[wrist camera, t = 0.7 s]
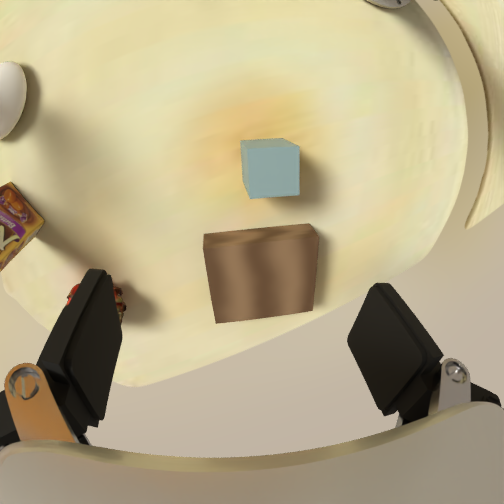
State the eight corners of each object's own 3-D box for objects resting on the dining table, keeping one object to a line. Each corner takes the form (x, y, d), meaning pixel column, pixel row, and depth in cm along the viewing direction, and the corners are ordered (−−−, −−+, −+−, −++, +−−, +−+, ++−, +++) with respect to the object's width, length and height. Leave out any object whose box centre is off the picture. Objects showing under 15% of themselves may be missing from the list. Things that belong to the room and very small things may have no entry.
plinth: (309, 223, 37) (319, 236, 34) (305, 294, 43) (312, 310, 40) (203, 234, 36) (203, 248, 32) (215, 305, 42) (215, 323, 38)
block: (282, 138, 31) (299, 146, 25) (283, 177, 34) (299, 195, 28) (240, 140, 31) (247, 148, 25) (242, 180, 33) (250, 198, 27)
